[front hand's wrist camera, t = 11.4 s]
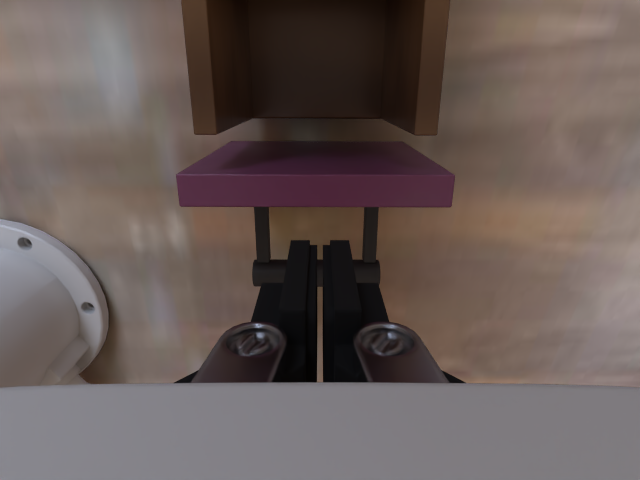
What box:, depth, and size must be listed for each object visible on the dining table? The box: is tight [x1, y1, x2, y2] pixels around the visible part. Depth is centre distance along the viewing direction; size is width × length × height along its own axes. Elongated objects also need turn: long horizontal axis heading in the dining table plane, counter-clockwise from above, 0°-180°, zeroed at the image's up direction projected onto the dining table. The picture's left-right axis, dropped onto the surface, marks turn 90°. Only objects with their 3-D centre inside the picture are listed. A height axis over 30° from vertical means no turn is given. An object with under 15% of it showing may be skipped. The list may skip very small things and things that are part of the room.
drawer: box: [176, 0, 455, 287], centre depth 18 cm, size 21×10×10 cm, turn 0°
